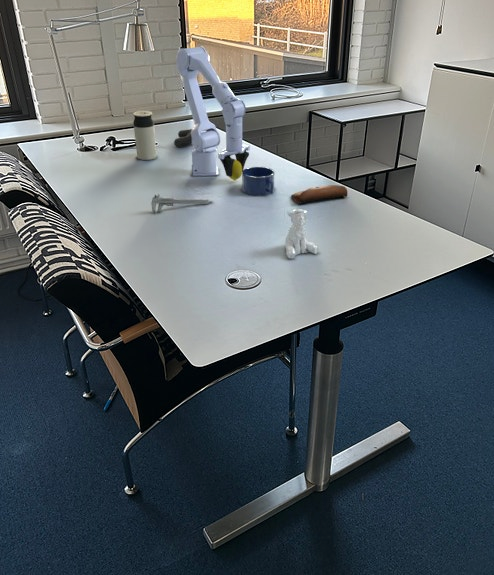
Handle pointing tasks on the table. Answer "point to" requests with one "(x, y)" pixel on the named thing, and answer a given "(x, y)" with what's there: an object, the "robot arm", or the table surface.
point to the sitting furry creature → (298, 235)
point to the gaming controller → (183, 138)
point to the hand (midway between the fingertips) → (234, 173)
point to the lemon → (236, 170)
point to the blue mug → (258, 180)
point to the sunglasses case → (319, 193)
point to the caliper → (174, 202)
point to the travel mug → (144, 135)
